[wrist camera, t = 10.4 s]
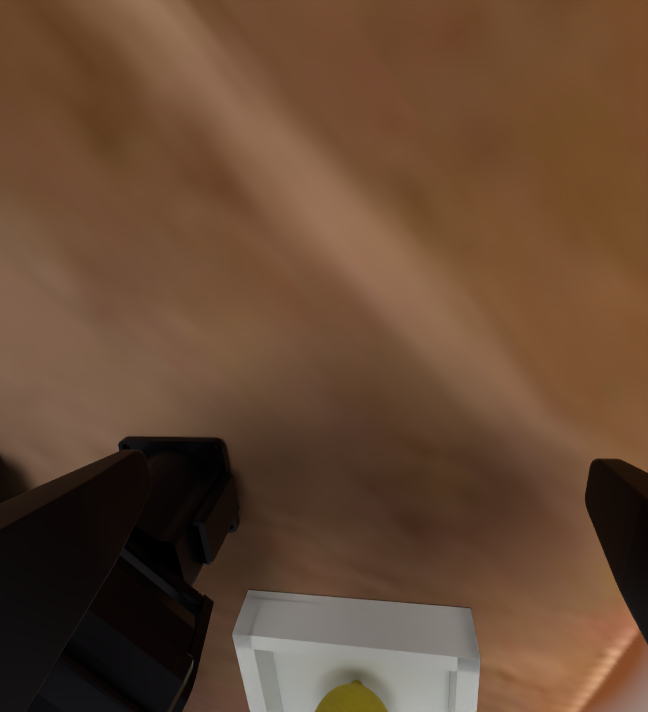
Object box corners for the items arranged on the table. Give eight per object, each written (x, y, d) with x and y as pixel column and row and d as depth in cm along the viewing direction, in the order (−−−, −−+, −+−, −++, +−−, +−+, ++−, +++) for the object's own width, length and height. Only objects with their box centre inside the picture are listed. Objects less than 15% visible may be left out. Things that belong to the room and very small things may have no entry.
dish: (274, 721, 32) (263, 770, 29) (248, 589, 27) (231, 633, 25) (462, 748, 30) (469, 804, 27) (470, 608, 25) (480, 659, 22)
